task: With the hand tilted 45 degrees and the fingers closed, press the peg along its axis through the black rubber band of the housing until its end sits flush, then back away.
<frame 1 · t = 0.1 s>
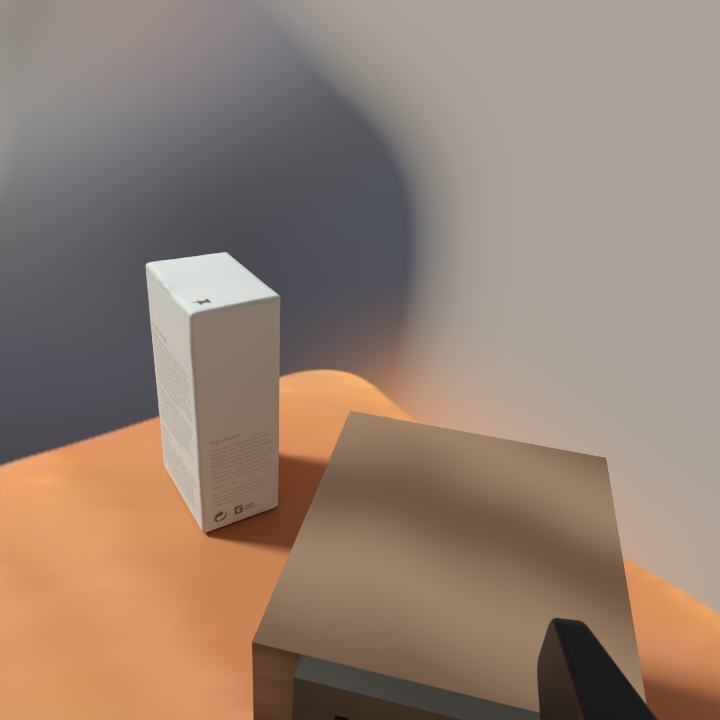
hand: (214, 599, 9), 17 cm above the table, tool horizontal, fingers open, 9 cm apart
skincare box: (219, 489, 35), on the table
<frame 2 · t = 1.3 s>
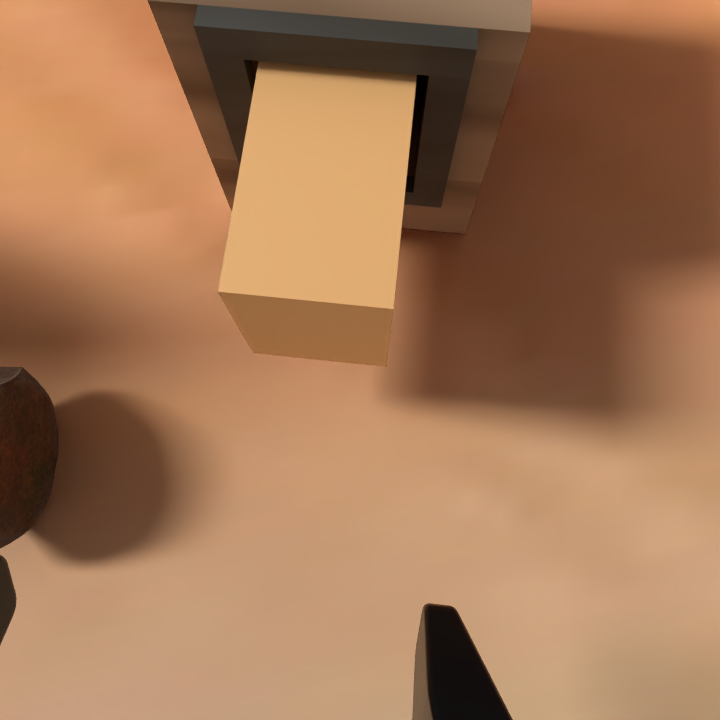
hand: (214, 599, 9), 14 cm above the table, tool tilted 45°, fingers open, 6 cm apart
housing: (361, 110, 27), on the table
peg: (334, 174, 19), point 7 cm above the table, slide at 6.0 cm
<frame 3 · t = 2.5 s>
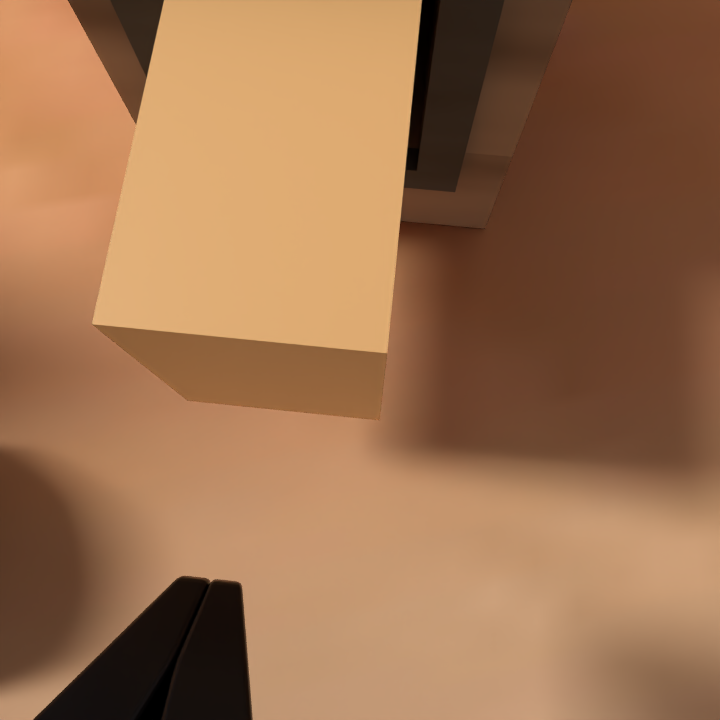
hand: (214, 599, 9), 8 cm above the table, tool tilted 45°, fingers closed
housing: (348, 69, 21), on the table
peg: (301, 138, 13), point 7 cm above the table, slide at 6.0 cm
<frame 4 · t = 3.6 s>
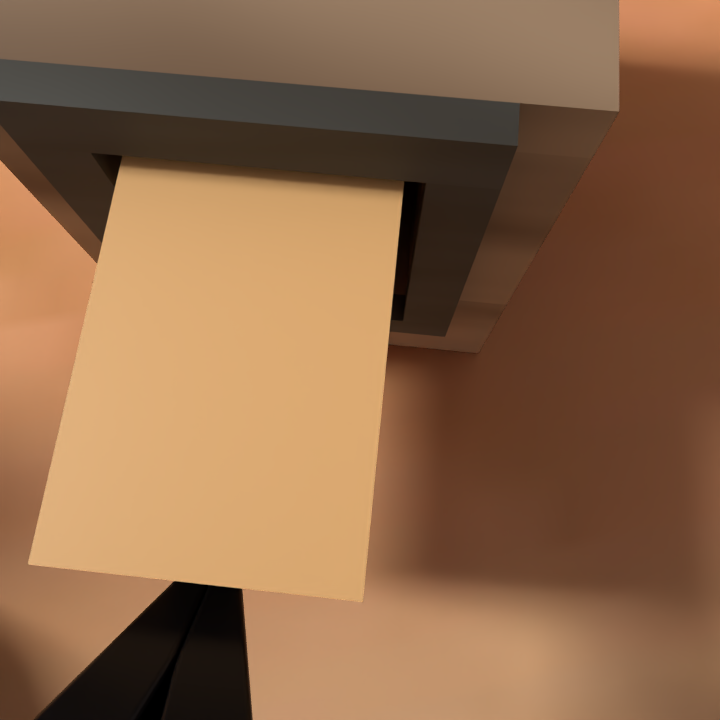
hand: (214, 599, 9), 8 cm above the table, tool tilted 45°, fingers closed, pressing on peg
housing: (334, 175, 19), on the table
peg: (276, 288, 11), point 6 cm above the table, slide at 5.4 cm, touching gripper
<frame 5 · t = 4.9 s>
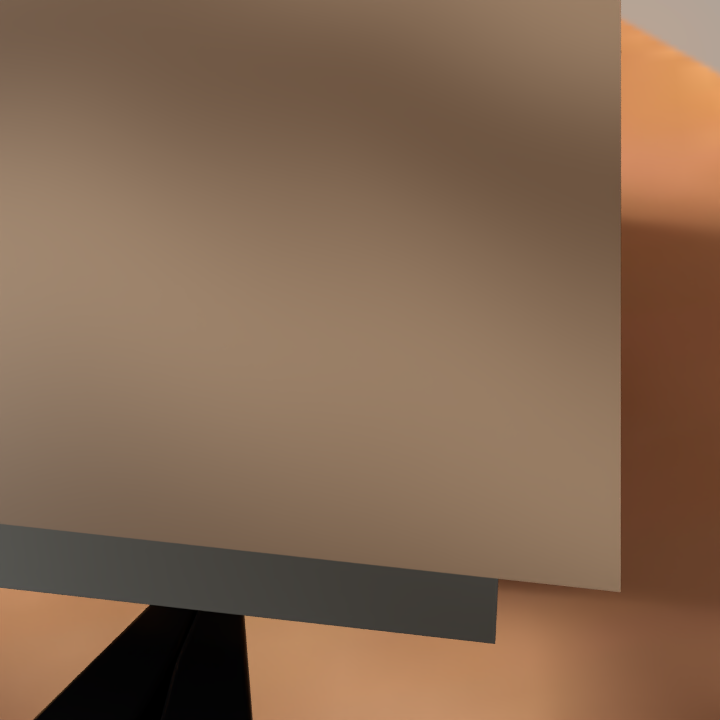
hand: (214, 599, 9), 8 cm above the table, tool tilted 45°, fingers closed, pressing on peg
housing: (311, 352, 18), on the table
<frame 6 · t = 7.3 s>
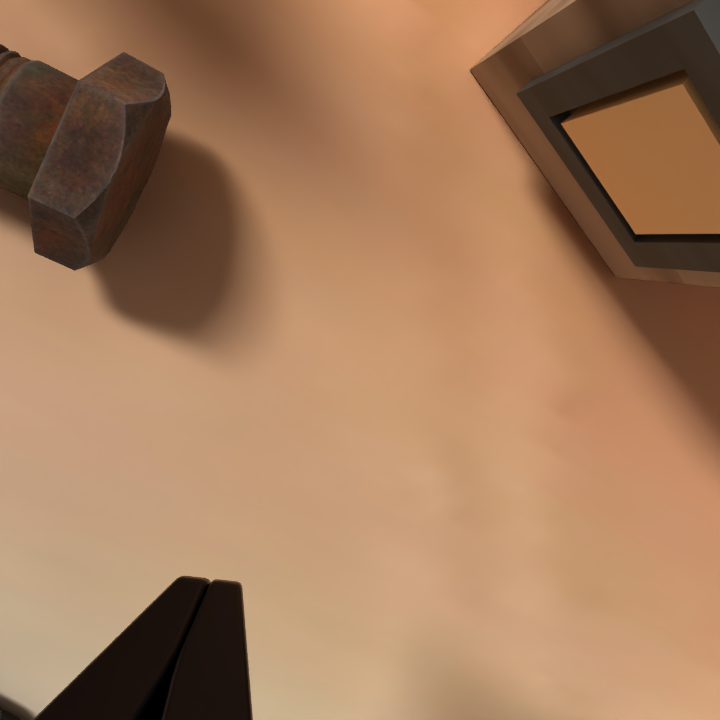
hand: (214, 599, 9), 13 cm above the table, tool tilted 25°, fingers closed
housing: (651, 84, 23), on the table
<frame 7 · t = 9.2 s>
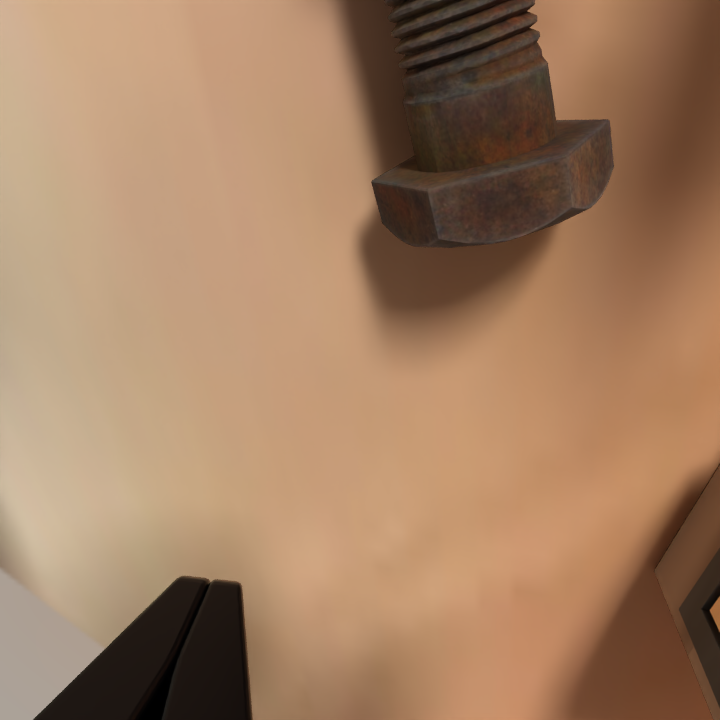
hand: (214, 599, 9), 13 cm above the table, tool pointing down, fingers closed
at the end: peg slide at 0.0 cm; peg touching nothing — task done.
